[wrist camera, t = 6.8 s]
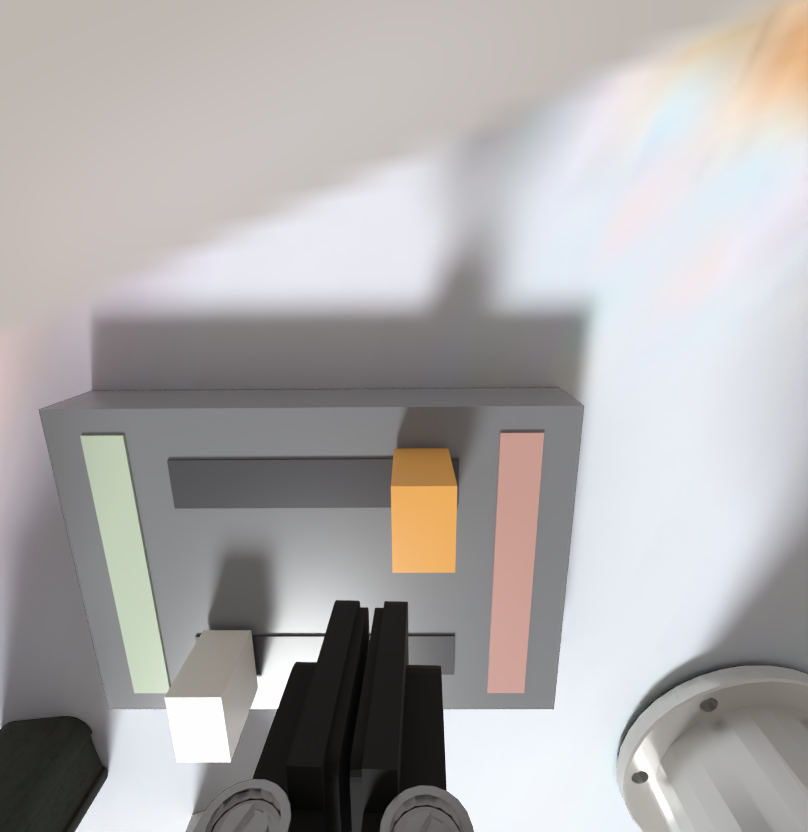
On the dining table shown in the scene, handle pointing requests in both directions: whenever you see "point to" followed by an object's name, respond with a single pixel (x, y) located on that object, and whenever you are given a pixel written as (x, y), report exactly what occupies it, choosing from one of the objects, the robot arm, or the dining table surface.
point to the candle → (47, 774)
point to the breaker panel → (308, 540)
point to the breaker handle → (423, 511)
